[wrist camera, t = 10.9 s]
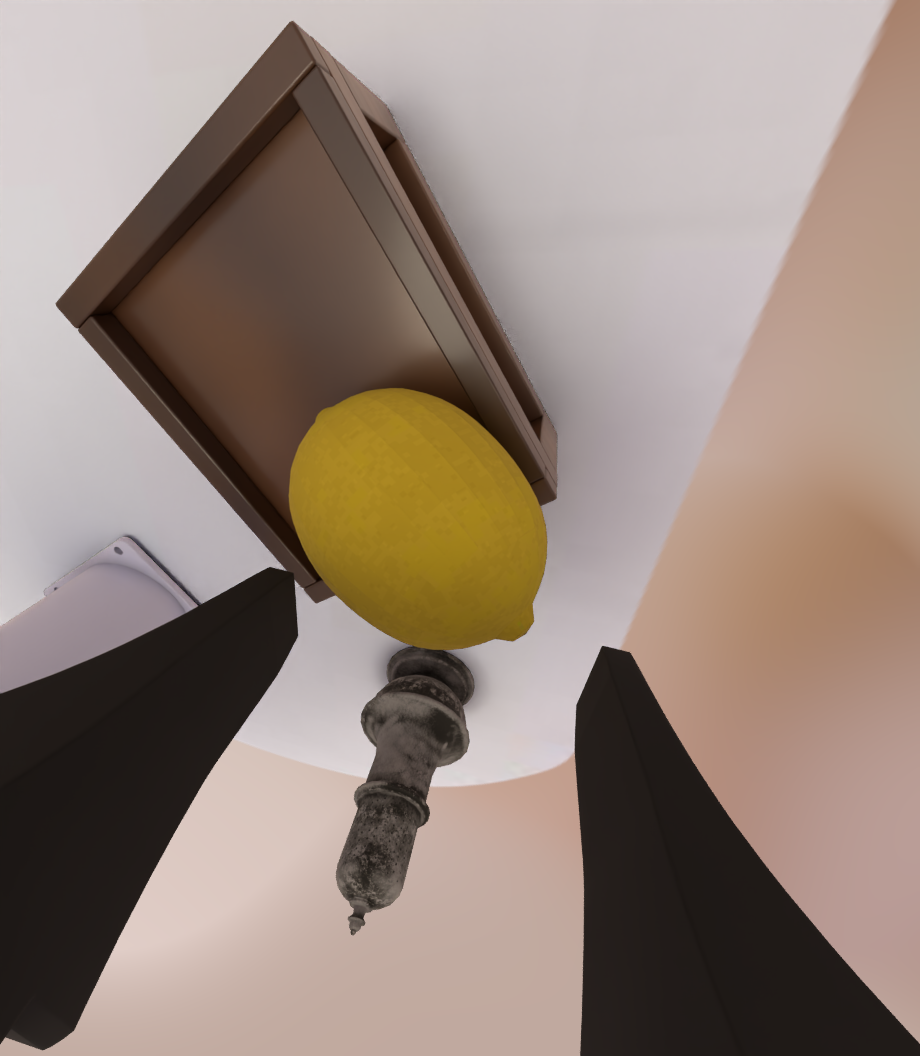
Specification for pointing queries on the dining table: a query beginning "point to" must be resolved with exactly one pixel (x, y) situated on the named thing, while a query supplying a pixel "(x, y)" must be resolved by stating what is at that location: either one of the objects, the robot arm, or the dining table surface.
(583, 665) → the dining table surface
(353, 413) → the lemon
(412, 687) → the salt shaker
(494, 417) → the walnut box
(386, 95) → the dining table surface
